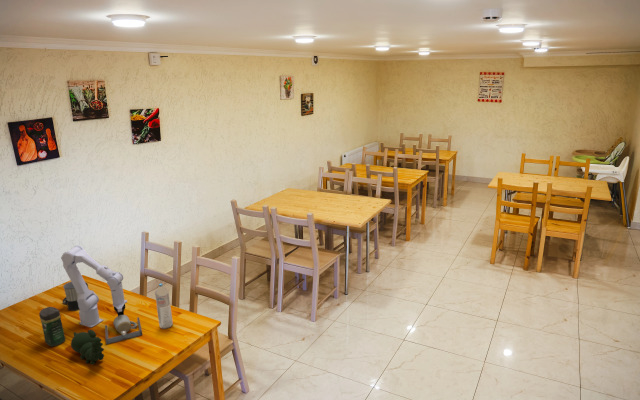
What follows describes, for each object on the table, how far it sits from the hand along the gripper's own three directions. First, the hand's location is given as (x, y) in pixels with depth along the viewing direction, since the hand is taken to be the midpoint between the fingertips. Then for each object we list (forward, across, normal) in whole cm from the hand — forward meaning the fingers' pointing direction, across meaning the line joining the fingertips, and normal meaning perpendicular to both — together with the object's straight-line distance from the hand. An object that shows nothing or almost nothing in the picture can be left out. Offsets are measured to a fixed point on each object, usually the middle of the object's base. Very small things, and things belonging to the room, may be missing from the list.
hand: (121, 317), depth 237 cm
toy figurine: (+4, -25, +16) cm, 30 cm away
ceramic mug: (+4, -7, -2) cm, 8 cm away
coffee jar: (+4, -2, +32) cm, 32 cm away
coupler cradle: (+4, -10, 0) cm, 11 cm away
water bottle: (+4, -14, -21) cm, 26 cm away
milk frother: (+4, +36, +25) cm, 44 cm away
